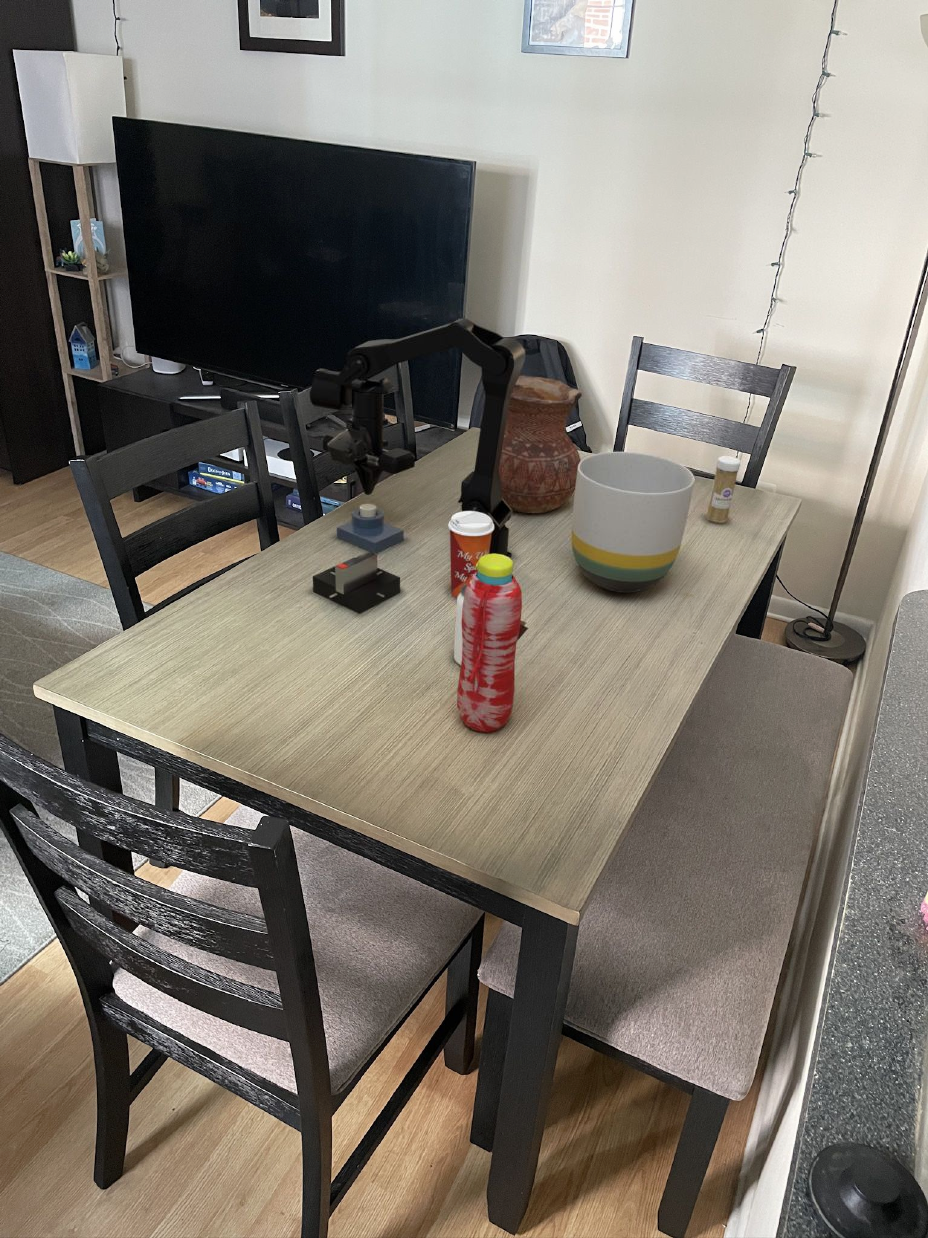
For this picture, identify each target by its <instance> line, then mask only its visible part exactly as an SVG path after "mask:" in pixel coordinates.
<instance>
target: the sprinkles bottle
mask: <svg viewBox="0 0 928 1238" xmlns="http://www.w3.org/2000/svg"><path fill="white" fill-rule="evenodd" d="M715 465H716V469H715V475H714V479H713V482H712V487H711V492H710V496H709V497H710V498H709V501H708V508H707V513H706V516H705V518H706V520H708V521H709V522H711V523H715V524H725V523H727V522H728V521H729V513H730V509H731V506H732V501H733V497H734V493H735V492H734V491H735V486H736V482H737V477H738V473H739V471H740V468H741V460H740V459H739V458H737V457H734V456H730V455H722V456H719V457H718V458H717V461H716V464H715Z"/></svg>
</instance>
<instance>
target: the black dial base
mask: <svg viewBox="0 0 928 1238" xmlns="http://www.w3.org/2000/svg"><path fill="white" fill-rule="evenodd" d="M353 558H354V557H352V558H349V559H348V560H345V561H343V562H342V563H344V562H347V561H349V560H351V559H353ZM337 565H338V564H336V565H335V566H337ZM335 566H331V567H330V568H328V569H326V570H323V571H321V572H319V573H316V574H314V575H312V592H313V593H315V594H317V595H319V596H321V597H324V598H326V599H327V600H329V601H331V602H334V603H336V604H338V605H339V606H342V607H344V608H346V609H349V610H350V611H353V612H354V613H357V614H360V615H361V614H362V613H364V612H366V611H368V610H370V609H371V608H374V607H375V606H377V605H379V604H381V603H383V602H385V601H387V600H389V599H391V598H393V597H395V596H396V595H398V594H401V577H400V576H399V575H396V574H393V573H391V572H389V571H386V570H384V569H381V568H380V567H377V578H376V579H374V580H372V581H370V582H368V583H366V584H364V585H362V586H360V587H358V588H356V589H353V590H351V591H349V592H347V593H345V594H342V593H340V592H337V591H336V577H335Z"/></svg>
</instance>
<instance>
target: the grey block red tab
mask: <svg viewBox="0 0 928 1238" xmlns="http://www.w3.org/2000/svg"><path fill="white" fill-rule="evenodd" d="M352 558H353V559H352ZM352 558H350V559H351V560H350V559H348V560H349V561H347V560H346V561H347V562H345V561H343V562H344V563H343V562H339V563H338V564H336V565H337V566H336V565H335V577H336V591H337V592H340V593H342V594H345V593H347V592H349V591H351V590H353V589H356V588H358V587H360V586H362V585H364V584H366V583H368V582H370V581H372V580H374V579H376V578H377V568H378V554H377V553H373V552H370V551H366V552H364V553H362V554H360V555H357V556H355V557H352Z"/></svg>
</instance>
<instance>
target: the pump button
mask: <svg viewBox="0 0 928 1238" xmlns="http://www.w3.org/2000/svg"><path fill="white" fill-rule="evenodd" d="M359 508H360V516H362V517H374V516H376V508H377V506H376V505H375V504H373V503H363V504H360V505H359Z"/></svg>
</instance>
